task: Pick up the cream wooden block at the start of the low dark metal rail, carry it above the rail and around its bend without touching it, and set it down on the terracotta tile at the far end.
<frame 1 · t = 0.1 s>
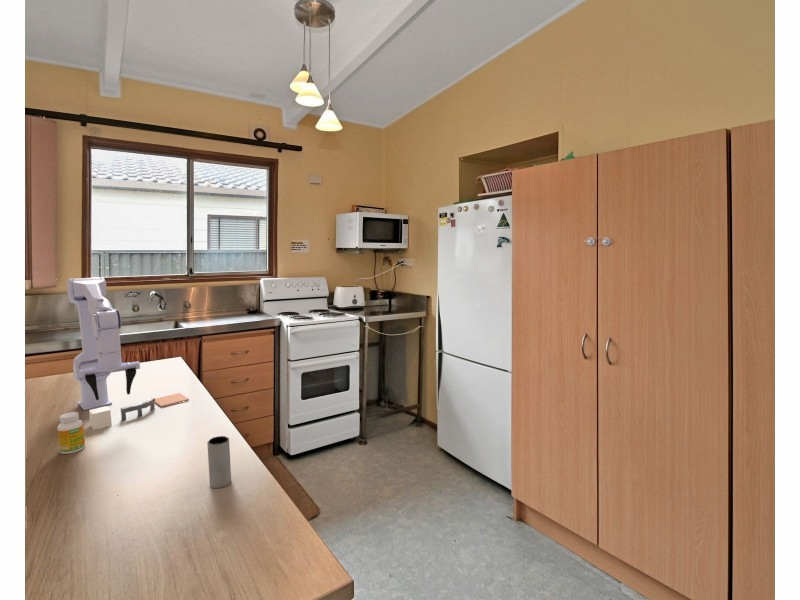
hand: (113, 396, 126), 10 cm above the table, tool pointing down, fingers open, 7 cm apart
terracotta tile: (170, 400, 149), on the table
cream block: (101, 425, 128), on the table
supplement bottle: (72, 450, 113), on the table
grey tube: (220, 483, 97), on the table
bent rail: (122, 420, 132), on the table
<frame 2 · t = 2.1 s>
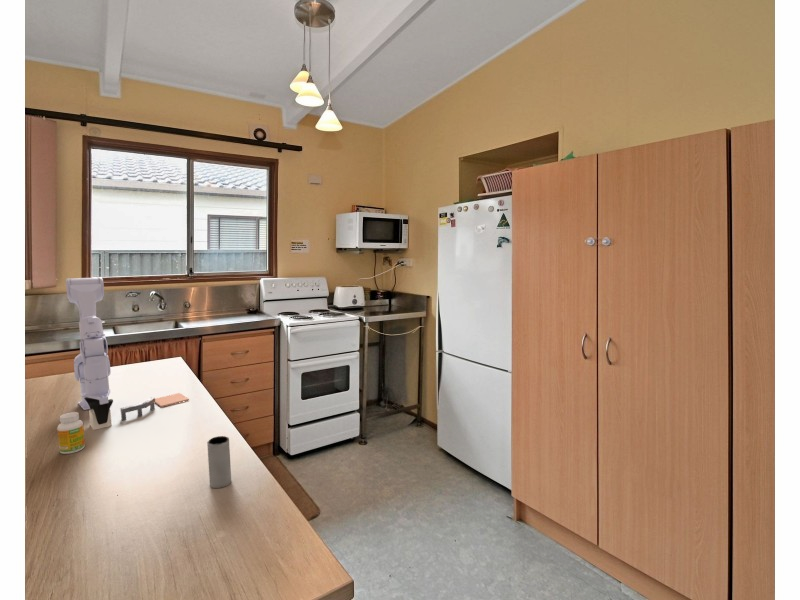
hand: (100, 421, 128), 1 cm above the table, tool pointing down, fingers closed on cream block, 4 cm apart
cream block: (101, 425, 128), on the table, touching gripper
everything else where it was.
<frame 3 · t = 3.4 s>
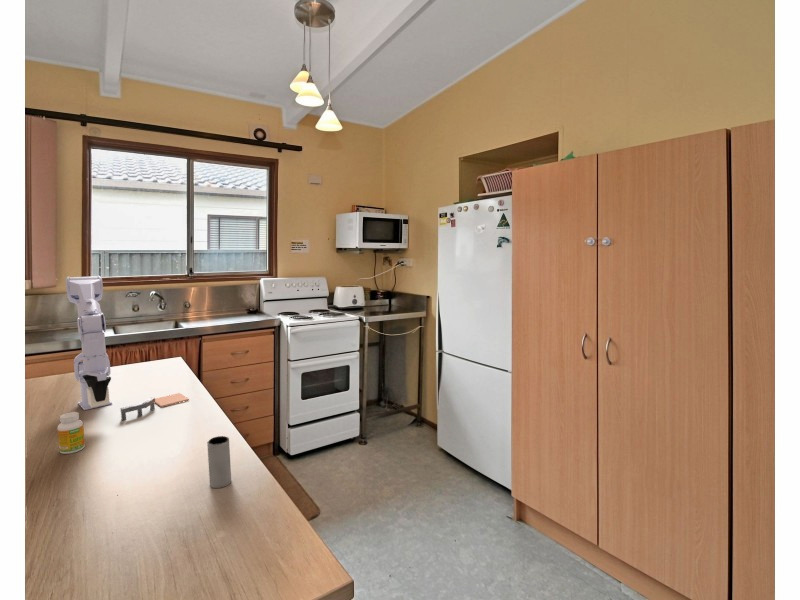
hand: (98, 398, 127), 8 cm above the table, tool pointing down, fingers closed on cream block, 4 cm apart
cream block: (98, 403, 128), point 7 cm above the table, touching gripper
everything else where it was.
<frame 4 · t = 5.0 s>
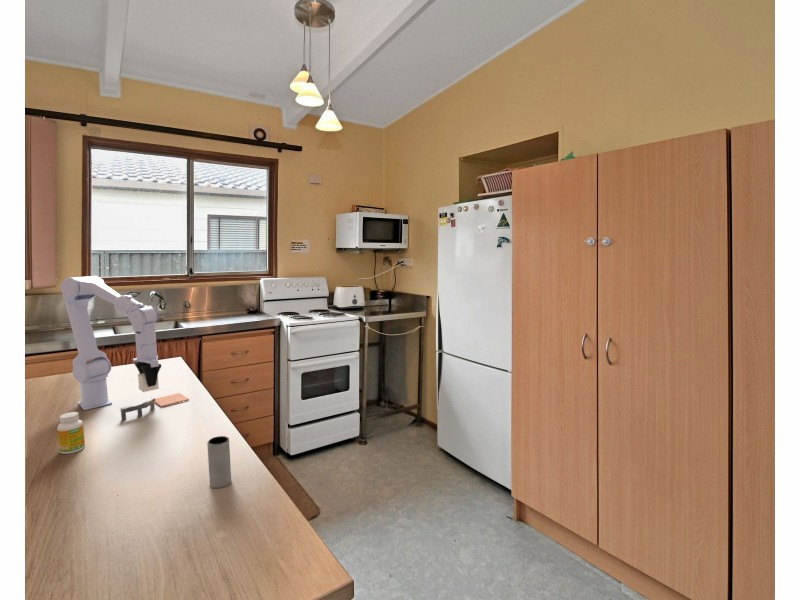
hand: (149, 384, 140), 9 cm above the table, tool pointing down, fingers closed on cream block, 4 cm apart
cream block: (148, 388, 140), point 7 cm above the table, touching gripper
everything else where it was.
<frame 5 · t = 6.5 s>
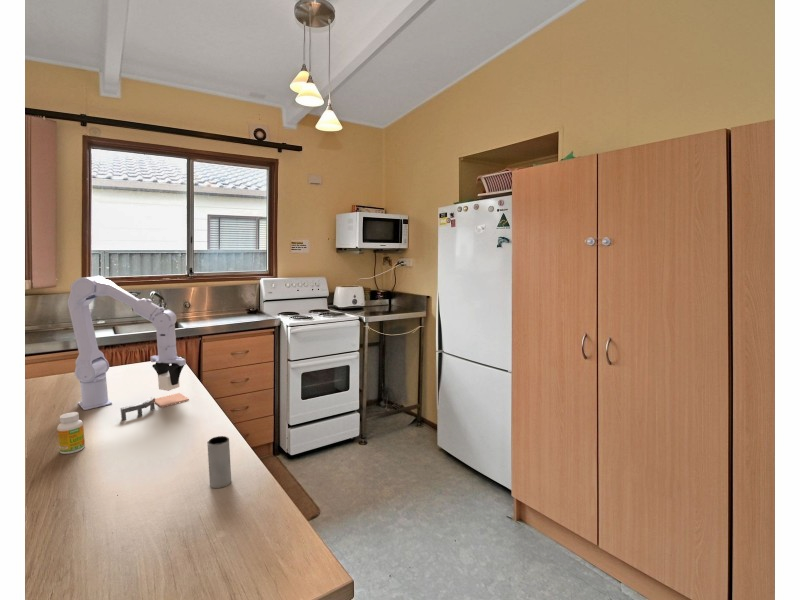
hand: (169, 383, 148), 6 cm above the table, tool pointing down, fingers closed on cream block, 4 cm apart
cream block: (169, 388, 148), point 5 cm above the table, touching gripper
everything else where it was.
when the fingers open (3 cm above the table, at t = 7.9 s): cream block stays where it is, resting on terracotta tile.
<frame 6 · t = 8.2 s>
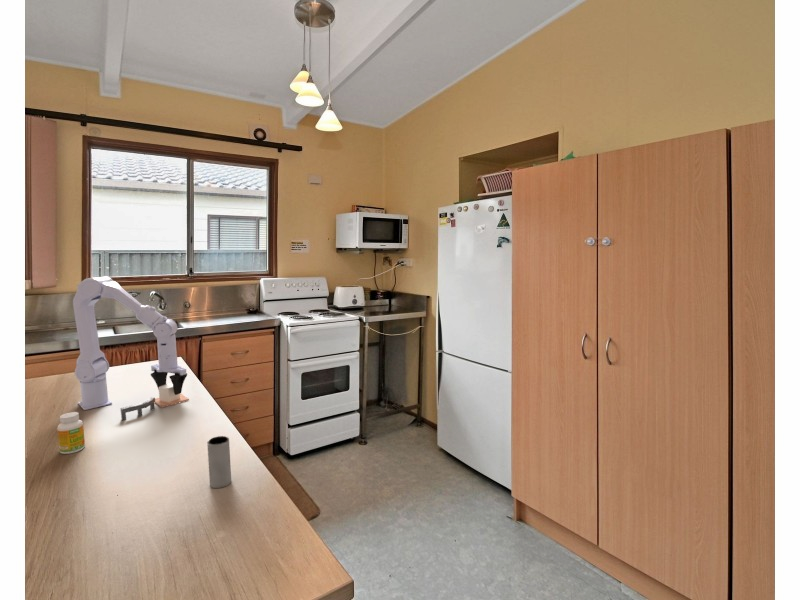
hand: (170, 392, 149), 3 cm above the table, tool pointing down, fingers open, 7 cm apart
cream block: (169, 399, 149), point 1 cm above the table, touching terracotta tile
everything else where it was.
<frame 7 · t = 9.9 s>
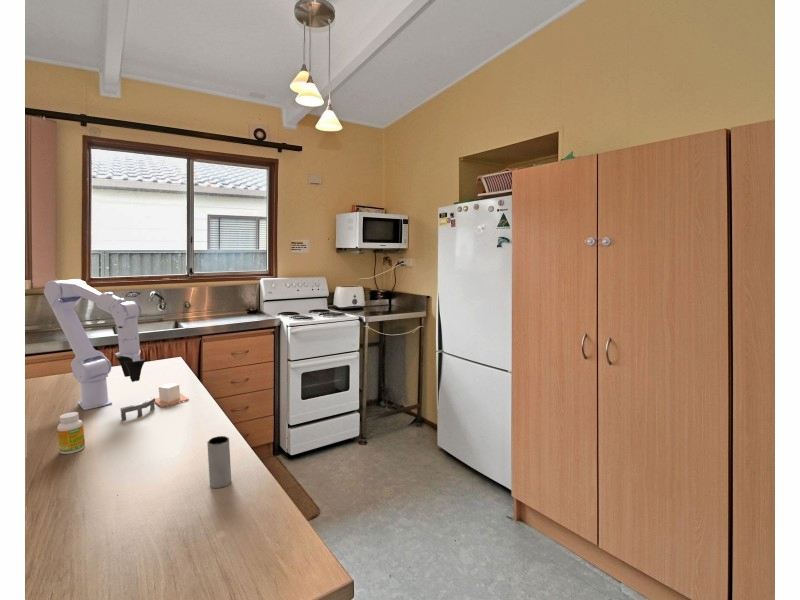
hand: (131, 378, 141), 10 cm above the table, tool pointing down, fingers open, 7 cm apart
nothing on the table moved.
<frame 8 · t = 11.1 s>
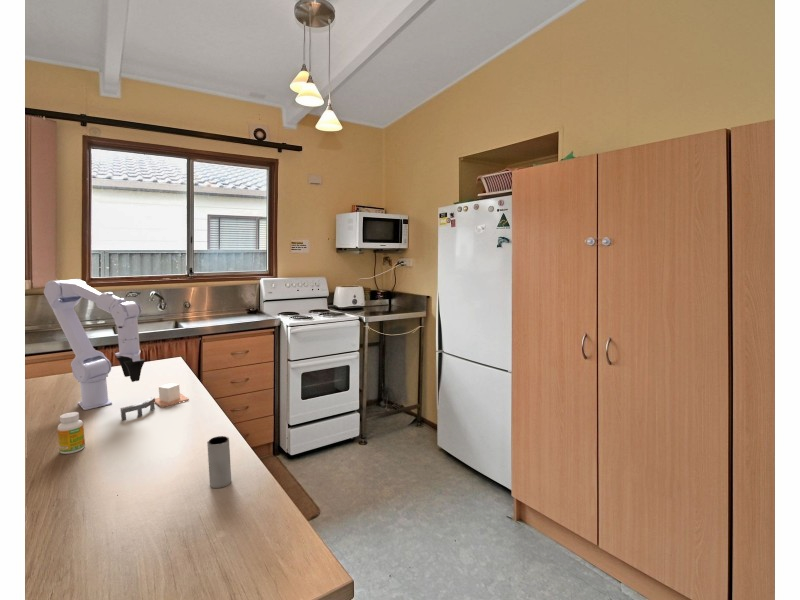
hand: (131, 378, 141), 10 cm above the table, tool pointing down, fingers open, 7 cm apart
nothing on the table moved.
at the end: cream block 0.3 cm off-centre on the terracotta tile, point 0.6 cm above the terracotta tile's base; cream block tilted 0°; cream block touching terracotta tile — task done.
